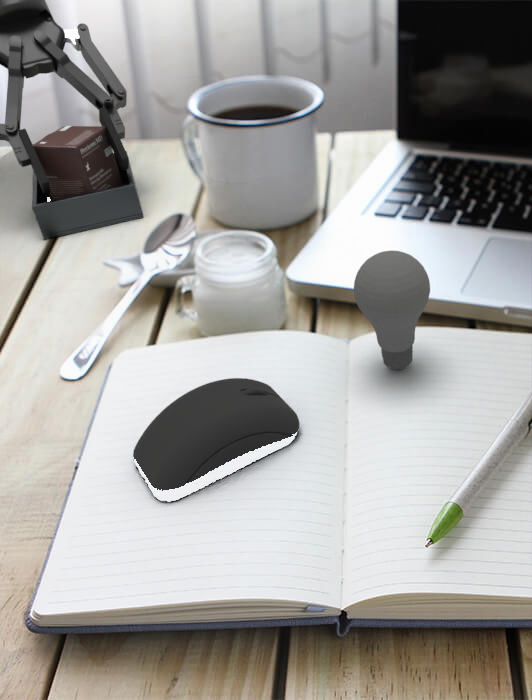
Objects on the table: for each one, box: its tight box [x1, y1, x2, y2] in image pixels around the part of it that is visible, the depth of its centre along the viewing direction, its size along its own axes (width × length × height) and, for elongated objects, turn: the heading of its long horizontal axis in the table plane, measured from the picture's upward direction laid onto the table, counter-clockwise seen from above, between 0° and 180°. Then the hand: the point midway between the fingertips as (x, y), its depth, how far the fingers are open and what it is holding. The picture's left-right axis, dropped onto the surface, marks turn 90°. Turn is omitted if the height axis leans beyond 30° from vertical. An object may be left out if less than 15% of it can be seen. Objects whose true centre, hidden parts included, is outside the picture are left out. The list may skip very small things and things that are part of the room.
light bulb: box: [353, 250, 431, 370], centre depth 59 cm, size 6×6×10 cm
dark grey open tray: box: [31, 150, 144, 241], centre depth 90 cm, size 11×11×4 cm
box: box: [32, 125, 123, 201], centre depth 89 cm, size 6×6×7 cm
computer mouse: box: [132, 377, 300, 491], centre depth 55 cm, size 6×11×4 cm, turn 123°
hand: (86, 175), depth 86 cm, fingers closed on box, 8 cm apart
